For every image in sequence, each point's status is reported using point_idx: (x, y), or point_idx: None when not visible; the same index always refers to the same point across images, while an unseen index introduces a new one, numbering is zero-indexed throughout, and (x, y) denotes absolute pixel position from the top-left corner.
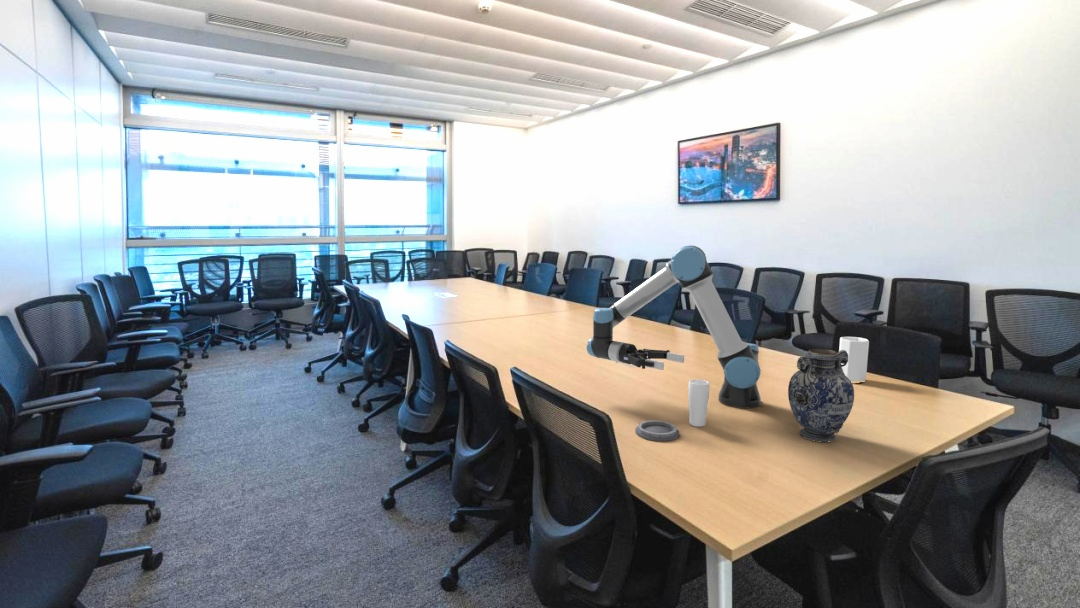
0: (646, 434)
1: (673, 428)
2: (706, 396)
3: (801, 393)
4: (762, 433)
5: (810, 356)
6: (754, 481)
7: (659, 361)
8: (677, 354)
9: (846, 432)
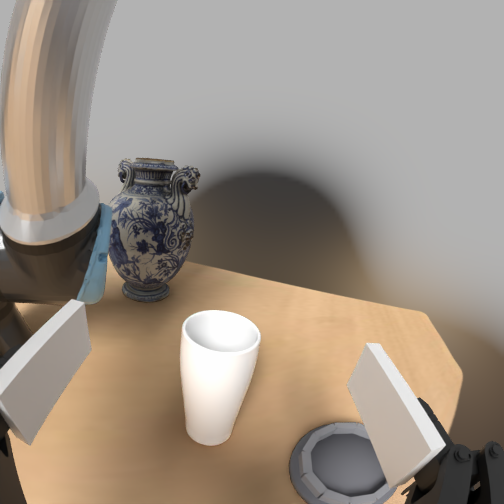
0: None
1: (318, 439)
2: (226, 346)
3: (191, 229)
4: (175, 333)
5: (171, 167)
6: (343, 321)
7: (385, 362)
8: (58, 327)
9: (116, 273)
